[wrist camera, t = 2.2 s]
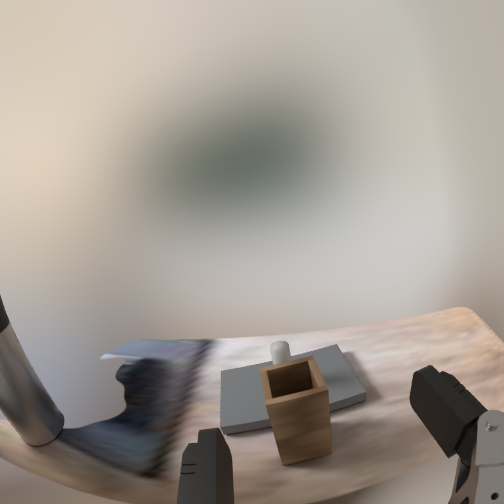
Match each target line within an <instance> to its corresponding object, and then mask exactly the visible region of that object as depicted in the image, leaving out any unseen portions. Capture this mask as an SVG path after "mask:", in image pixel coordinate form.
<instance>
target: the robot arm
mask: <svg viewBox="0 0 504 504" xmlns="http://www.w3.org/2000/svg"><path fill="white" fill-rule="evenodd" d="M410 404H411V406H412V408H413V410H414V411H415V413H416V414H417V415H418V417H419V418H420V419H421V421H422V422H423V423H424V425H425V426H426V428H427V429H428V430H429V432H430V433H431V434H432V436H433V437H434V439H435V440H436V441H437V443H438V444H439V446H440V447H441V448H442V450H443V451H444V453H445V454H446V456H447V457H448V458H450V457H451V456H453V455H455V454H456V453H457V454H458V455H459V459H458V463H457V469H456V475H455V481H454V486H453V491H452V495H451V498H450V501H449V502H448V504H504V413H503V412H501V411H499V410H489V411H488V410H487V409H486V408H485V407H484V406H483V405H482V404H481V403H480V402H479V401H478V400H477V399H476V398H475V397H474V396H473V395H472V394H471V393H470V392H469V391H468V390H466V388H465V387H464V386H463V385H462V384H460V382H459V381H458V380H457V379H456V378H455V377H454V376H453V375H451V374H448V373H446V372H444V371H442V372H440V373H439V372H438V371H437V370H436V369H435V368H434V367H433V366H431V365H429V366H427V367H424V368H422V369H420V370H418V371H416V372H414V374H413V379H412V386H411V392H410ZM0 409H1V411H2V412H3V414H4V415H5V416H6V418H7V419H8V421H9V422H10V423H11V424H12V426H13V427H14V428H15V430H16V431H17V432H18V433H19V435H21V436H22V437H23V439H24V440H25V441H26V442H27V443H28V444H30V445H33V446H40V445H44V444H47V443H49V442H50V441H52V440H53V439H54V438H56V437H57V436H58V434H59V433H60V432H61V430H62V428H63V426H64V416H63V414H62V413H61V411H60V410H59V409H58V407H57V406H56V404H55V403H54V401H53V400H52V398H51V397H50V395H49V393H48V392H47V391H46V389H45V387H44V386H43V384H42V382H41V381H40V379H39V377H38V376H37V374H36V372H35V371H34V369H33V367H32V365H31V363H30V362H29V360H28V358H27V356H26V354H25V352H24V350H23V348H22V346H21V345H20V342H19V340H18V338H17V336H16V334H15V332H14V330H13V328H12V326H11V323H10V321H9V319H8V316H7V314H6V311H5V308H4V305H3V302H2V299H1V296H0ZM181 464H182V466H181V472H180V473H181V475H180V480H179V489H178V499H177V504H234V490H233V467H232V456H231V452H230V449H229V447H228V445H227V443H226V441H225V439H224V437H223V435H222V433H221V431H220V429H219V428H212V429H203V430H199V433H198V443H189V444H188V446H187V447H186V449H185V451H184V452H183V455H182V463H181Z"/></svg>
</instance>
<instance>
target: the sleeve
mask: <svg viewBox="0 0 504 504" xmlns="http://www.w3.org/2000/svg"><path fill="white" fill-rule="evenodd" d="M259 370H260V376H261V382H262V388H263V393H264V399H265V405H266V409H267V412H268V416H269V419H270V423H271V426H272V430H273V433H274V437H275V440H276V444H277V447H278V451H279V454H280V457H281V461H282V464H283V465H288V464H292V463H297V462H301V461H305V460H309V459H313V458H317V457H320V456H324V455H327V454H331V453H332V452H331V426H330V407H329V392H328V388H327V385H326V383H325V381H324V379H323V377H322V375H321V372H320V370H319V368H318V366H317V364H316V362H315V359H314V357H313V355H312V356H308V357H304V358H300V359H297V360H293V361H288V362H284V363H280V364H276V365H271V366H267V367H262V368H259Z"/></svg>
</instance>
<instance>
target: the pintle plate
mask: <svg viewBox="0 0 504 504" xmlns="http://www.w3.org/2000/svg"><path fill="white" fill-rule="evenodd" d="M270 352H271V356H272V361H270V362H265V363H260V364H256V365H251V366H246V367H241V368H235V369H230V370H224V371H221V407H220V427H221V430H222V432H223V434H231V433H237V432H244V431H250V430H256V429H261V428H266V427H271V423H270V419H269V416H268V412H267V409H266V405H265V399H264V393H263V388H262V382H261V376H260V370H259V368H262V367H267V366H271V365H276V364H280V363H284V362H288V361H293V360H297V359H300V358H304V357H308V356H312V355H313V357H314V359H315V362H316V364H317V366H318V368H319V370H320V372H321V375H322V377H323V379H324V381H325V383H326V385H327V388H328V392H329V407H330V412H331V411H334V410H337V409H340V408H344V407H347V406H350V405H353V404H355V403H358V402H361V401H364V400H366V390H365V389H364V387H363V386H362V384H361V382H360V381H359V379H358V377H357V376H356V374H355V373H354V371H353V369H352V368H351V366H350V365H349V363H348V361H347V360H346V358H345V357H344V355H343V353H342V352H341V350H340V349H339V347H338V345H337V344H335V345H332V346H328V347H325V348H321V349H318V350H314V351H310V352H307V353H303V354H299V355H295V356H291V355H290V349H289V344H288V343H287V342H286V341H277V342H274V343H273V344H271V345H270Z"/></svg>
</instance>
